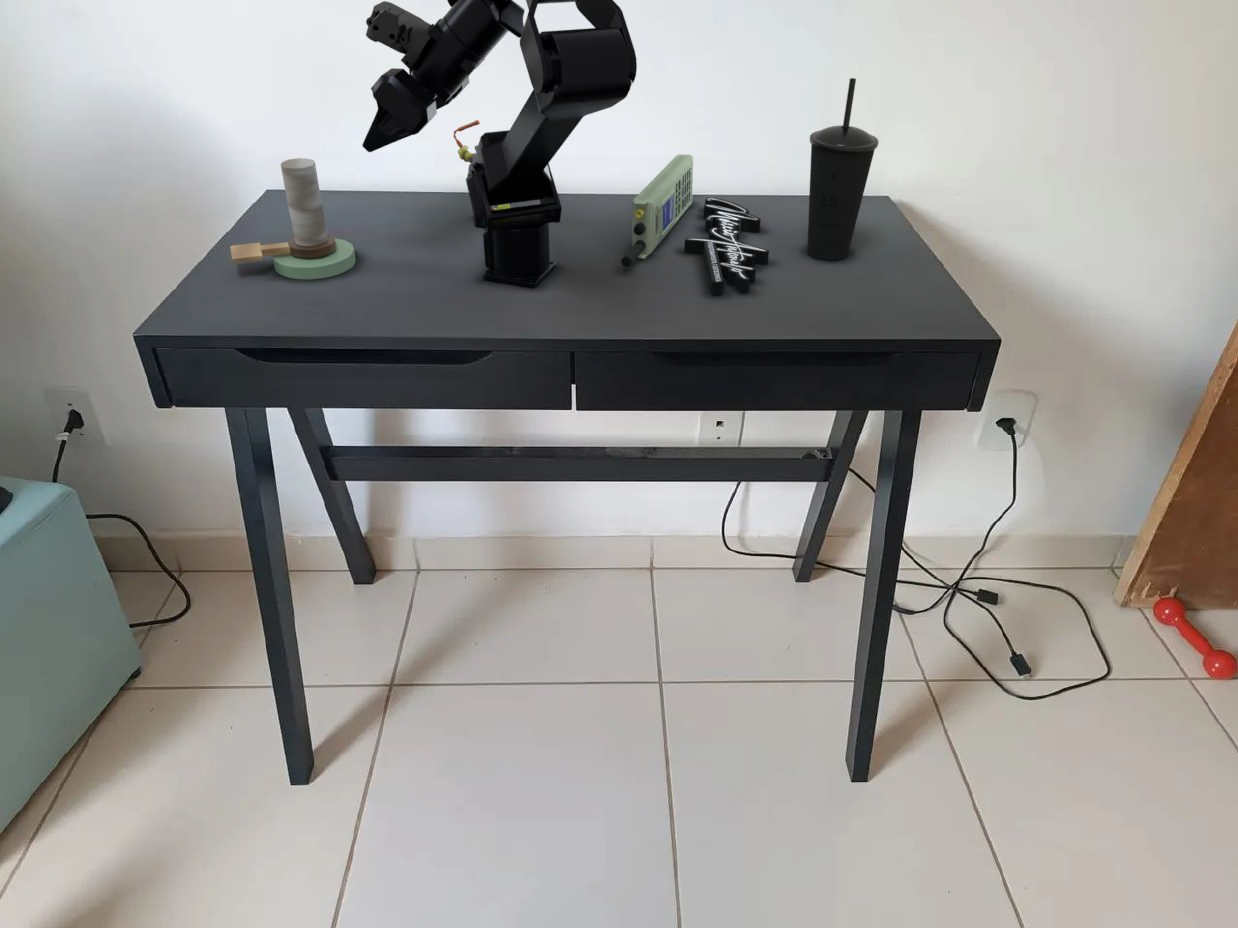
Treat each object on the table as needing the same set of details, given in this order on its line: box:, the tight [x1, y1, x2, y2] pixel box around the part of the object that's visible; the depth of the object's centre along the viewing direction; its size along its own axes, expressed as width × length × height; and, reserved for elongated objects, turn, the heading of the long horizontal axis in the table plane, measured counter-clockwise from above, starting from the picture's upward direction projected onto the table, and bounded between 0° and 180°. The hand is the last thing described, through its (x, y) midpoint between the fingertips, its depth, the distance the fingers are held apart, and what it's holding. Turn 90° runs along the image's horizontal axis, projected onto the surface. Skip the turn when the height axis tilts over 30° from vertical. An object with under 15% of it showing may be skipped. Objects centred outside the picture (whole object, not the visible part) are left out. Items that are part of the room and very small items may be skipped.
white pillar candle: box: [230, 157, 336, 264], centre depth 104 cm, size 11×5×10 cm, turn 111°
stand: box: [271, 237, 356, 281], centre depth 109 cm, size 9×9×2 cm
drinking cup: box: [806, 77, 879, 262], centre depth 108 cm, size 8×8×20 cm
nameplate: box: [683, 197, 770, 297], centre depth 115 cm, size 28×2×10 cm
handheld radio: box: [620, 153, 694, 268], centre depth 116 cm, size 7×3×25 cm
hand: (379, 137), depth 108 cm, fingers open, 9 cm apart
